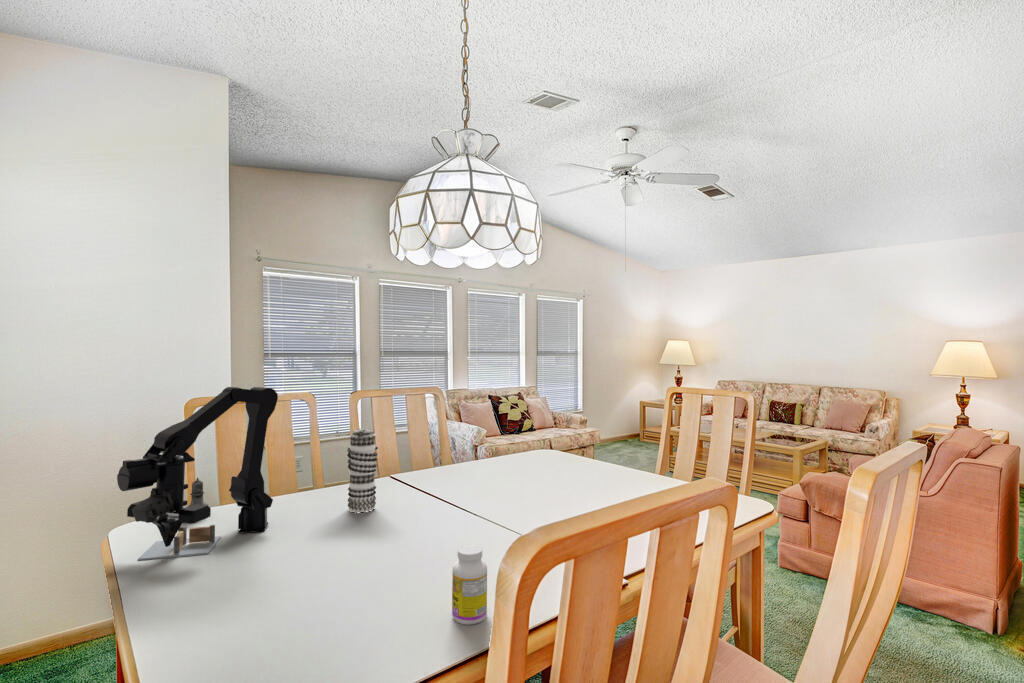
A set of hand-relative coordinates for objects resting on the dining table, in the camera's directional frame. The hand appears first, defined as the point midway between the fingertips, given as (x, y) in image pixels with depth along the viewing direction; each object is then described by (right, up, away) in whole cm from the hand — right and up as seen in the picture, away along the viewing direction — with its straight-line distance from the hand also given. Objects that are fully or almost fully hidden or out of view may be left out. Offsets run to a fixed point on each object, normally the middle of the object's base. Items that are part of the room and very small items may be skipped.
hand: (167, 546), depth 126 cm
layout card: (+1, -2, +4) cm, 5 cm away
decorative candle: (+37, -3, +37) cm, 52 cm away
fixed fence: (+3, -2, +7) cm, 8 cm away
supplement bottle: (+76, -3, -27) cm, 81 cm away
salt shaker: (-9, -3, +27) cm, 29 cm away
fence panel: (+2, -1, +2) cm, 3 cm away
